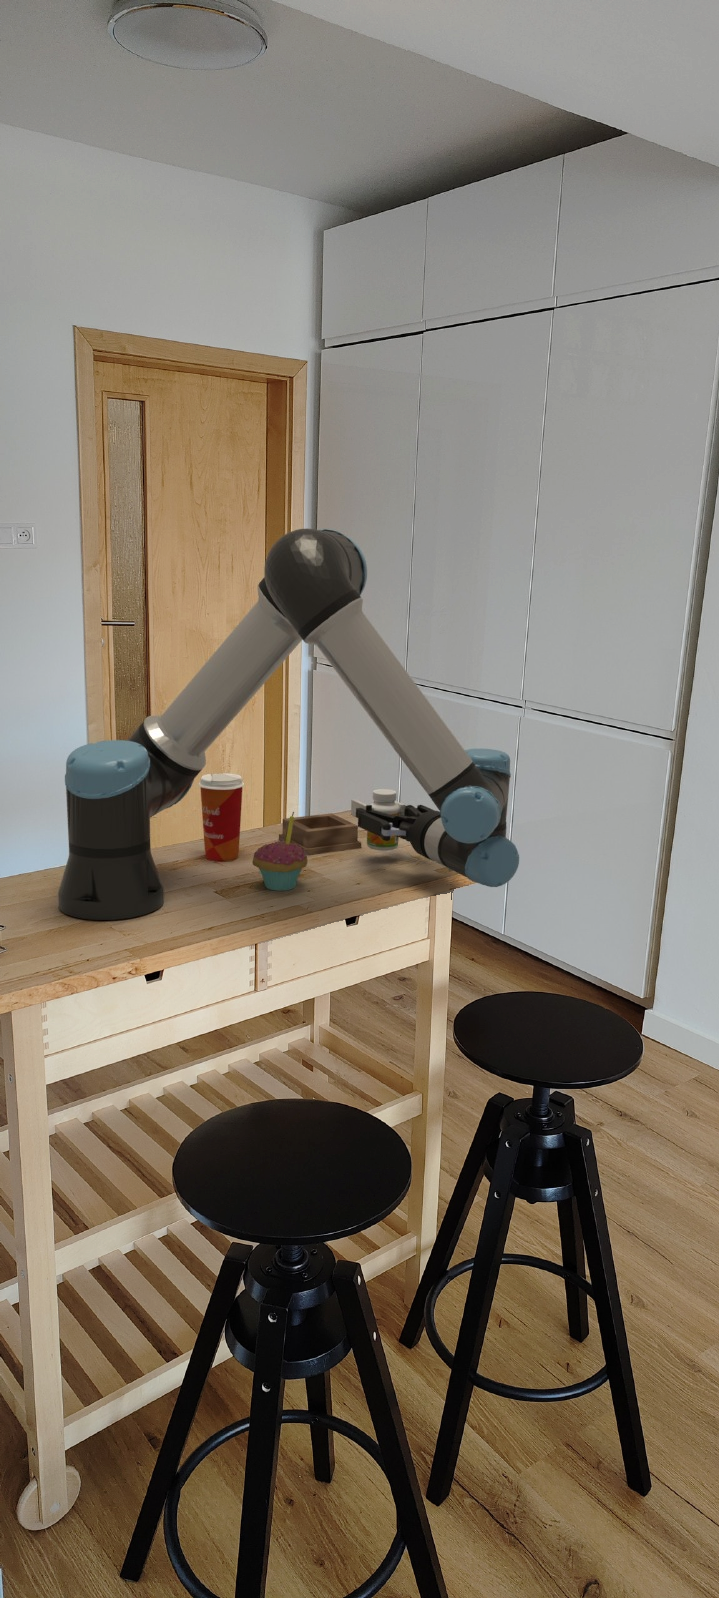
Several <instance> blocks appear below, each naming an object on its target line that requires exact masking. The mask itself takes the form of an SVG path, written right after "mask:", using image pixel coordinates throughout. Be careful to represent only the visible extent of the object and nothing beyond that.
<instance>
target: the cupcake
mask: <svg viewBox="0 0 719 1598" xmlns="http://www.w3.org/2000/svg"><path fill="white" fill-rule="evenodd" d="M294 813H295V811H292V813H291V816H289V818H290V819H289V825H288V831H287V837H286V842H285V841H280V840H278V841H274V842H271V843H268V844H264V845H262V846H261V847H259V848H257V850H256V851H255V852H254V853H253V858H252V861H251V862H252V865H253V866H254V867H256V868H258V870H259V871H260V874H261V876H262V879H263V883H264V886H265V888H267V889H268V890H271V891H278V892H279V891H280V892H281V891H282V892H283V891H289V890H293V889H295V888H296V886H297V882H298V880H299V877H300V873H301V872H302V869H304V868H306V867H307V865H308V855H307V853H306V851H304V850H305V849H304V850H303V849H302V848H301V847H299V846H298V845H295V844H293V843H290V839H291V833H292V827H293V821H294Z"/></svg>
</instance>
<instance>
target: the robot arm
mask: <svg viewBox="0 0 719 1598" xmlns="http://www.w3.org/2000/svg"><path fill="white" fill-rule="evenodd" d="M263 569H264V574H263V575H264V577H262V579H261V581H260V582H258V584H257V596H258V599H257V602H256V603H254V605H253V606H252V608H251V609H250V610H249V611H248V612H247V614H246V615H244V617H243V618H242V620H241V621H240V622H239V623H238V624H237V625H236V627H234V629H233V630H232V631H231V633H230V634H229V635H228V636H227V637H226V638H225V639H224V641H222V643H221V644H220V645H219V647H218V648H217V649H216V650H215V651H214V652H213V654H212V655H211V656H210V657H209V659H208V660H206V662H205V663H204V665H202V666H201V668H200V669H199V670H198V672H197V673H196V674H195V676H193V678H192V679H191V680H190V681H189V682H188V684H187V685H185V687H184V688H183V690H182V691H180V693H179V694H178V695H177V697H176V698H175V699H174V700H173V701H172V702H171V704H170V705H169V706H168V707H167V709H166V710H164V712H163V713H162V714H161V715H149V716H147V717H146V718H145V719H144V720H143V721H142V723H141V724H139V726H138V727H137V729H135V731H134V732H133V733H132V734H131V735H130V736H129V738H128V739H127V740H123V739H121V740H120V739H111V740H100V741H97V742H96V743H93V742H91V743H86V744H83V745H81V746H79V747H77V748H75V749H74V750H72V752H70V753H69V754H68V756H67V759H66V763H65V767H66V768H65V773H64V774H65V775H64V784H65V792H66V793H65V794H66V815H67V817H66V819H67V836H68V857H67V861H66V865H65V867H64V871H63V874H62V878H61V881H60V885H59V888H58V894H57V897H58V908H59V910H60V912H62V913H63V914H65V915H68V916H70V917H74V918H78V919H84V920H92V921H94V920H96V921H110V920H111V921H115V920H116V921H117V920H123V919H131V918H136V917H140V916H144V915H147V914H151V913H152V912H154V911H157V910H159V909H160V908H161V907H162V906H163V905H164V902H165V900H164V899H165V898H164V896H165V895H164V893H165V892H164V884H163V881H162V879H161V876H160V874H159V872H158V871H159V870H158V869H157V865H156V863H155V859H154V857H153V855H152V850H151V848H152V847H151V818H152V817H153V816H156V815H158V814H159V813H160V812H162V811H164V810H166V809H168V808H169V809H170V808H171V807H173V806H174V805H176V804H178V803H179V802H180V801H182V800H183V799H184V797H185V796H186V795H187V794H188V793H189V791H190V790H191V788H192V786H193V784H194V781H195V779H196V777H198V775H199V774H200V773H201V772H202V770H204V768H205V766H206V765H207V759H206V751H207V750H208V749H209V747H210V746H211V745H212V744H213V743H214V742H215V741H216V739H217V738H218V737H219V736H220V735H221V734H222V733H223V731H225V729H226V728H227V727H228V726H229V724H230V723H231V722H233V720H234V719H235V717H237V716H238V714H239V713H240V712H241V711H242V710H243V709H244V707H245V706H246V705H247V704H248V703H249V702H250V701H251V699H252V698H253V697H254V696H255V695H256V694H257V692H258V691H260V689H261V688H262V687H263V686H264V684H265V683H266V682H267V681H268V680H269V679H270V677H271V676H272V675H273V674H274V673H275V672H276V671H277V669H278V668H280V666H281V665H282V664H283V663H284V662H285V660H287V658H288V656H289V655H290V654H292V652H293V651H295V649H296V648H297V647H298V646H299V644H300V643H301V642H302V641H303V642H304V643H305V644H309V645H313V646H316V647H317V649H319V650H320V652H321V653H322V655H323V656H324V657H325V658H326V659H327V661H328V663H329V664H330V665H331V667H332V668H333V670H335V672H336V673H337V675H338V676H339V677H340V679H341V680H342V681H343V683H344V685H346V687H347V688H348V689H349V691H350V692H351V693H352V695H353V696H354V698H355V699H356V701H357V702H359V704H360V706H361V707H362V708H363V709H364V711H365V712H366V713H367V715H368V716H369V718H370V719H371V720H372V721H373V723H374V724H375V726H377V728H378V730H379V731H380V732H381V734H382V735H383V736H384V738H386V740H387V742H388V743H389V744H390V746H391V747H392V748H393V750H394V751H395V752H396V753H397V756H399V758H400V759H401V760H402V762H403V763H404V764H405V766H406V767H407V769H409V771H410V772H411V774H412V776H413V777H414V778H415V779H416V780H417V782H418V783H419V785H420V786H421V787H422V788H423V790H424V791H425V793H427V795H428V796H429V798H430V799H431V801H432V802H433V804H434V805H435V806H436V808H437V809H438V810H439V811H438V810H434V809H433V808H430V807H428V806H426V805H423V804H417V805H416V806H417V807H415V806H414V805H412V804H407V805H406V804H405V803H403V802H399V801H398V800H396V801H395V803H396V804H398V806H399V808H400V815H398V816H393V815H389V814H386V813H382V812H378V811H375V810H374V807H372V805H370V804H367V803H364V802H362V801H360V800H358V799H356V798H355V799H351V800H350V802H351V803H350V804H351V805H350V816H352V817H354V818H356V819H357V826H358V828H361V829H362V830H364V831H369V832H371V833H373V834H375V835H378V836H380V837H381V838H382V839H383V840H385V841H389V840H390V838H392V836H396V837H399V839H402V840H405V842H409V844H410V846H411V847H412V848H413V850H414V851H415V852H416V853H417V854H418V855H420V856H422V857H424V858H426V859H428V860H431V861H433V862H435V863H436V864H437V863H438V864H439V865H441V866H443V867H445V868H447V869H448V871H449V872H452V871H453V872H455V873H457V874H459V875H461V876H463V877H465V878H466V879H468V880H470V881H471V882H473V883H477V884H480V885H482V886H486V887H489V888H498V887H501V886H504V885H505V884H507V883H508V882H510V881H511V880H512V878H513V877H514V876H515V874H516V873H517V871H518V868H519V865H520V854H519V852H518V849H517V848H518V847H517V846H516V844H515V843H513V841H511V840H510V839H509V838H508V837H507V815H508V813H507V812H508V803H509V795H510V794H509V792H510V781H511V776H512V774H511V758H510V756H509V754H508V753H506V752H505V751H502V750H498V749H491V748H470V749H464V747H463V746H462V745H461V744H460V742H459V740H458V739H457V738H456V736H455V735H454V734H453V732H452V731H451V729H449V727H448V726H447V724H446V723H445V722H444V721H443V719H442V717H440V715H439V714H438V712H437V711H436V710H435V708H434V706H433V705H432V704H431V703H430V701H429V700H428V699H427V697H426V696H425V694H424V693H423V692H422V690H421V689H420V688H419V686H418V685H417V684H416V682H415V681H414V679H413V678H412V677H411V676H410V674H409V673H408V672H407V670H406V668H404V666H403V665H402V664H401V662H400V661H399V659H398V658H397V657H396V655H395V654H394V653H393V651H392V650H391V648H390V647H389V646H388V644H387V642H386V641H385V640H384V639H383V638H382V636H381V635H380V634H379V633H378V631H377V630H376V628H375V626H373V624H372V623H371V621H370V620H369V619H368V617H367V616H366V614H364V612H363V603H364V602H363V601H364V599H363V598H362V597H361V596H362V593H363V591H364V589H365V587H366V584H367V580H368V567H367V561H366V559H365V556H364V554H363V552H362V550H361V548H360V547H359V545H357V543H356V542H355V541H354V540H352V539H351V538H350V537H348V536H347V535H345V534H344V533H342V532H339V531H337V530H334V529H329V528H323V529H316V528H315V529H314V528H299V529H295V530H292V531H289V532H287V533H285V534H284V535H283V536H280V537H279V538H278V540H276V542H275V543H274V544H273V545H272V546H271V547H270V550H269V551H268V553H267V556H266V559H265V563H264V567H263Z"/></svg>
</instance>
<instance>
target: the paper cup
mask: <svg viewBox="0 0 719 1598" xmlns="http://www.w3.org/2000/svg"><path fill="white" fill-rule="evenodd" d="M197 785H198V787H199V788H200V801H201V813H202V830H203V843H204V854H205V858H206V859H207V860H209V861H212V862H231V861H235V860H237V859H238V858H239V851H240V840H241V839H240V838H241V837H240V836H241V821H242V819H241V818H242V806H243V805H242V804H243V803H242V802H243V801H242V800H243V799H242V798H243V787H244V786H245V783H244V782H243V778H242V776H241V775H239V774H238V773H237V774H236V773H230V772H229V773H227V772H222V773H220V772H218V773H217V772H216V773H212V774H210V773H207V774H203V775H202V776H201V778H200V781H199V782H198V784H197Z"/></svg>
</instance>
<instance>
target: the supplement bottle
mask: <svg viewBox="0 0 719 1598" xmlns="http://www.w3.org/2000/svg"><path fill="white" fill-rule="evenodd" d="M372 800H373V802H371V803H370V804H369V805H372V807H374V810H375V811H378V812H382V813H386V814H389V815H393V816H398V815H400V808H399V806H398V804H396V803H395V801H397V791H396V790H394V789H388V788H387V789H386V788H379V789H374V790H373V791H372ZM366 831H367V830H366ZM399 839H400V837H396V836H392V838H390V840H389V841H385V840H383V839H382V838H381V837H380V836H378V835H375V834H373V833H371V832H369V831H367V833H366V845H367V848H369V849H371V850H376V851H383V852H385V851H393V850H395V849H398V847H399Z"/></svg>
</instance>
